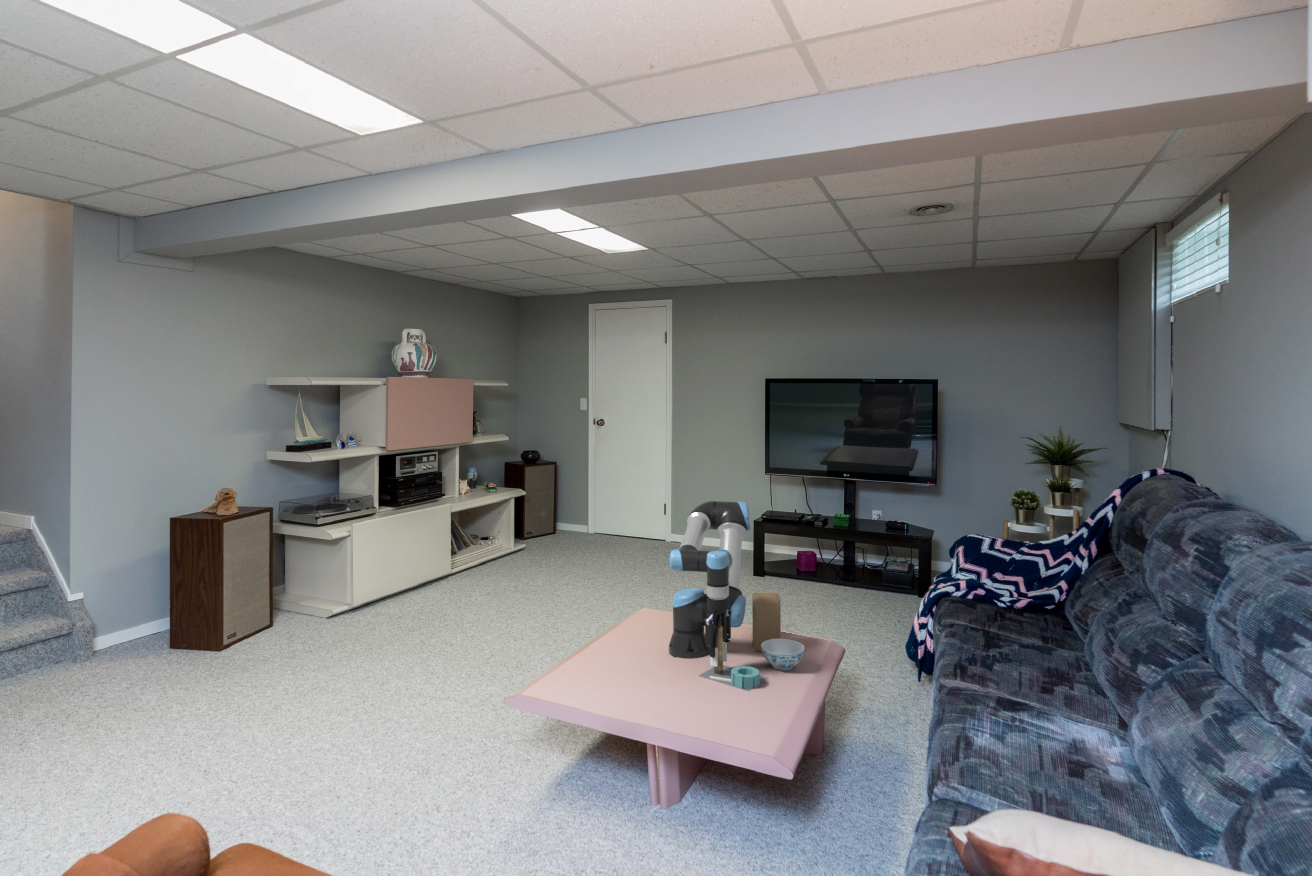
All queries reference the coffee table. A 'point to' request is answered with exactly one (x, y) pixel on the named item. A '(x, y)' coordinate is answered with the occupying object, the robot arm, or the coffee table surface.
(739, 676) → the bead
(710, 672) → the mat
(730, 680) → the white stick
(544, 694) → the coffee table surface
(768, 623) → the wooden block
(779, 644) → the chinaware
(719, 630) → the wooden rod
